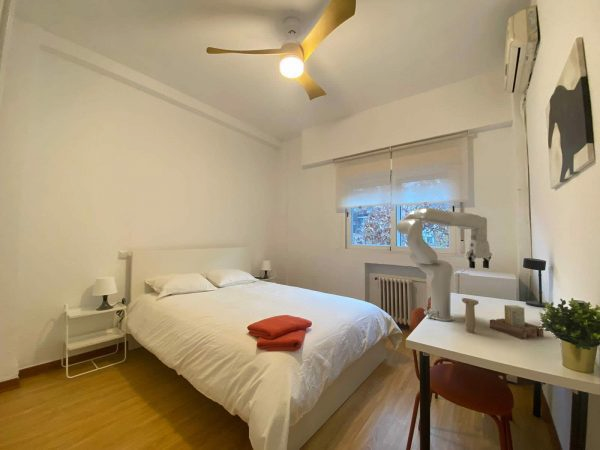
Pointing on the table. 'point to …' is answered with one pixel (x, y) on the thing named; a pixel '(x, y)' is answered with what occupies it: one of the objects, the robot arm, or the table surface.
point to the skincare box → (514, 315)
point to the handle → (470, 314)
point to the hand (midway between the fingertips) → (479, 268)
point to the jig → (516, 329)
